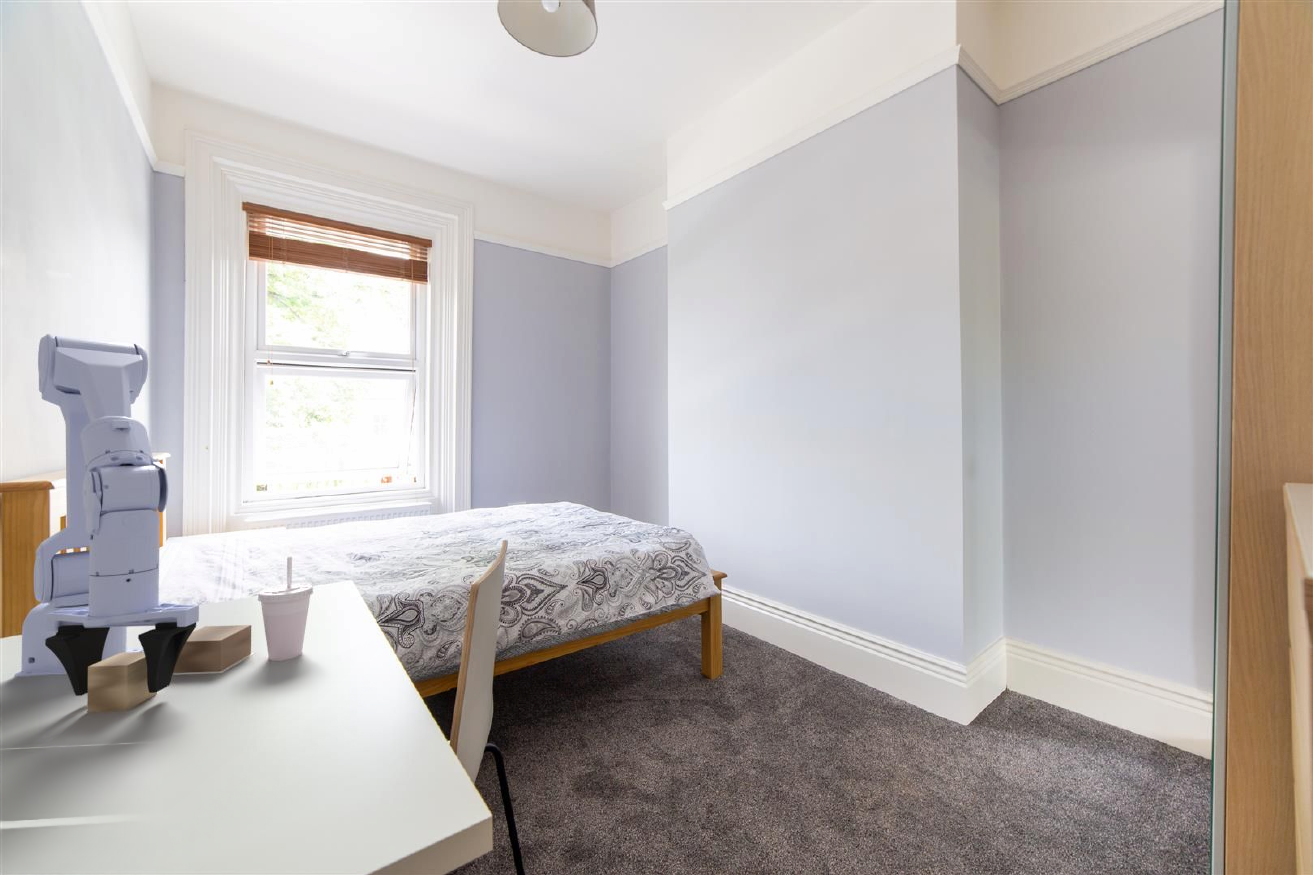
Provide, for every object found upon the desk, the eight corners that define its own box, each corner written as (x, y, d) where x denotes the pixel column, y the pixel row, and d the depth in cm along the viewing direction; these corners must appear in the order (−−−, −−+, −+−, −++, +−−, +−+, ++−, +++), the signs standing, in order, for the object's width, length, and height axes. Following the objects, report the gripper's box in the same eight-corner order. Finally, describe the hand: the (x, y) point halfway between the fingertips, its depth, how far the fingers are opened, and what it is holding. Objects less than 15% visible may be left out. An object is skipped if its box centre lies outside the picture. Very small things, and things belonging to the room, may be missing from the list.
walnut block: (170, 673, 69) (170, 641, 69) (205, 655, 75) (205, 626, 75) (220, 671, 70) (220, 640, 70) (251, 653, 76) (251, 624, 76)
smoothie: (323, 650, 78) (324, 553, 78) (289, 668, 72) (290, 563, 72) (282, 649, 79) (283, 552, 79) (244, 666, 72) (245, 562, 73)
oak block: (87, 712, 59) (88, 666, 59) (120, 695, 63) (120, 652, 63) (126, 710, 60) (127, 665, 60) (156, 694, 64) (157, 651, 64)
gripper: (17, 580, 57) (15, 710, 57) (164, 577, 58) (163, 703, 58) (81, 566, 64) (80, 681, 64) (212, 563, 65) (211, 676, 65)
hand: (123, 690), depth 61 cm, fingers open, 7 cm apart
